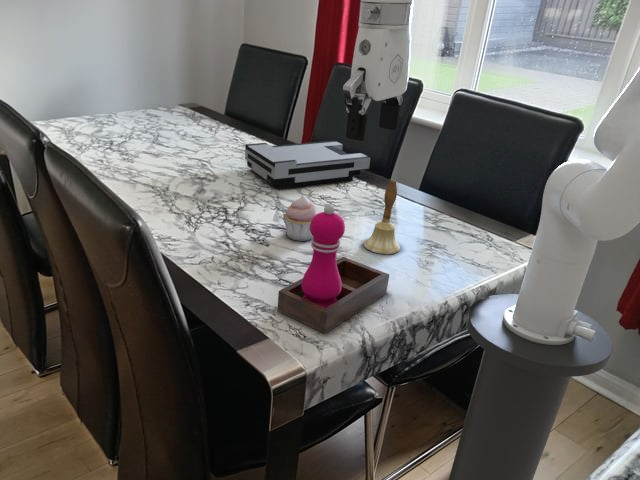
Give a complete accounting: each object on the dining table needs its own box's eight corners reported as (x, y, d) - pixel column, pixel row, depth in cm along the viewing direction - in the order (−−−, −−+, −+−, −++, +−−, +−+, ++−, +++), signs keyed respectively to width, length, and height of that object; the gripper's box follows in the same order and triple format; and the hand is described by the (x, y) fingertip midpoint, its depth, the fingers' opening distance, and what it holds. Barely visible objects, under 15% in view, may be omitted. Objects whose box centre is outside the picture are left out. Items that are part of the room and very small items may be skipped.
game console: (367, 180, 176) (370, 153, 172) (273, 191, 164) (275, 163, 160) (332, 161, 193) (334, 136, 189) (244, 170, 181) (245, 144, 177)
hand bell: (388, 237, 138) (398, 173, 130) (406, 252, 131) (418, 185, 124) (357, 241, 136) (366, 175, 128) (374, 256, 129) (384, 187, 121)
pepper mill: (317, 293, 111) (326, 194, 102) (346, 307, 107) (359, 205, 97) (291, 305, 107) (299, 203, 97) (321, 321, 102) (333, 216, 93)
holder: (386, 293, 114) (389, 274, 112) (324, 334, 100) (327, 313, 98) (341, 275, 120) (343, 256, 118) (277, 311, 107) (278, 290, 105)
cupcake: (314, 227, 142) (317, 188, 137) (324, 243, 134) (328, 202, 129) (277, 229, 141) (279, 189, 136) (285, 244, 133) (287, 203, 128)
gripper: (376, 20, 76) (362, 148, 85) (436, 15, 88) (419, 128, 96) (329, 17, 81) (321, 139, 89) (392, 12, 92) (380, 121, 100)
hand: (372, 133), depth 93 cm, fingers open, 9 cm apart
